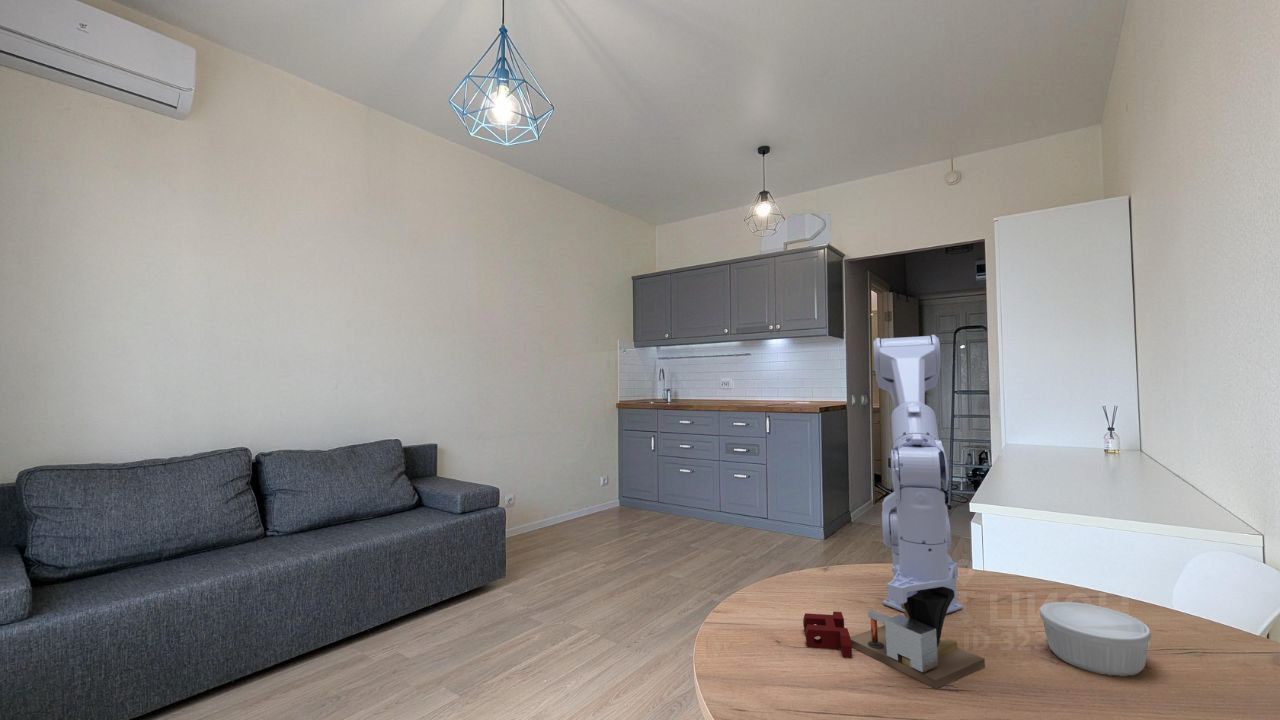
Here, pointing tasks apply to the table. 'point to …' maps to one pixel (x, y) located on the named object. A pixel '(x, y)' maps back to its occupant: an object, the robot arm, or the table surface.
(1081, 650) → the ramekin
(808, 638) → the bracket
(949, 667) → the board
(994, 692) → the table surface
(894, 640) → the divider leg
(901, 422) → the robot arm
